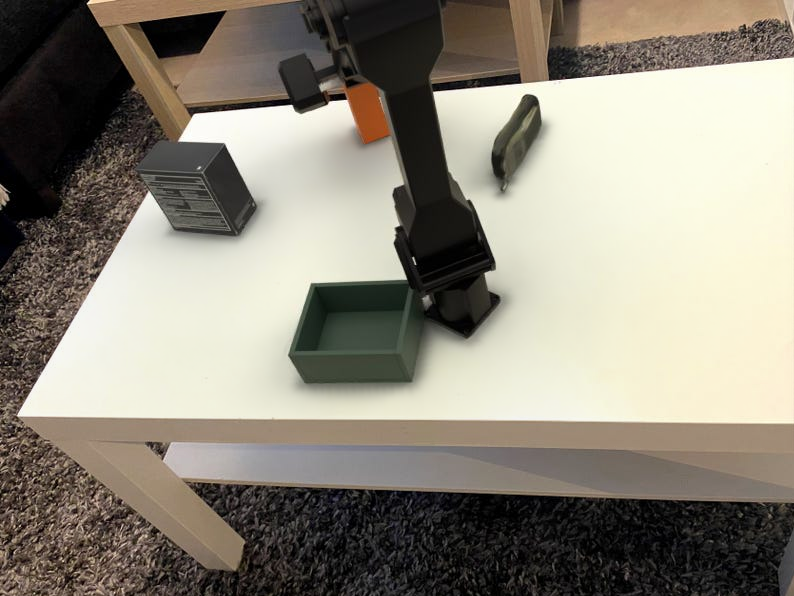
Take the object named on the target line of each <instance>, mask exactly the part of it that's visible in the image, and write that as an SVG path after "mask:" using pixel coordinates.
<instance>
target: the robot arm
mask: <svg viewBox="0 0 794 596" xmlns="http://www.w3.org/2000/svg"><path fill="white" fill-rule="evenodd" d="M297 7H298V11H299V15H300V17H301V19H302V22H303V25H304V26H305V29H306V32H307V33H308V34H309V35H310V34H316V35H317V36H318V37H319V39H320V41H322V42H323V44H324V47H325V49H326V52H327V54H330V55H331V54H332V55H331V60H332V65H330V66H326V67H324V68H321V69H318V70H316V69H315V67H314V65H313V62H312V61H311V59H310V58H308V56H307V54H306V52H303V53H300V54H297V55H294V56H292V57H289V58H286V59H283V60H280V61H279V62H278V64H277V68H276V69H277V72H278V74H279V77H280V80H281V82H282V84H283V87H284V89H285V91H286V93H287V96H288V99H289V101H290V104H291V106H292V108H293V110H294V112H295V113H297V114H299V115H303V114H306V113H308V112H312V111H316V110H318V109H320V108H325V107H327V106H328V105H329V103H330V100H331V97H330V95H329V92H328V91H329V90H331V89H335V88H337V87H340V86H342V85H343V84H345V86H346V88H347V90H349V89H352V88H355V87H358V86H360V85H363V84H366V83H371V84H372V85H374V86H375V87H376V88H377V91H378V95H379V98H380V101H381V104H382V108H383V111H384V114H385V118H386V121H387V125H388V128H389V132H390V135H389V136H390V138H391V142H392V146H393V149H394V153H395V156H396V160H397V163H398V167H399V172H400V175H401V178H402V181H403V184H402V185H399V186H396V187H394V188H393V190H392V194H391V196H392V200H393V202H394V206H393V207H394V210H395V214H396V219H397V221H398V224H399V225H398V226H395V227H393V228H394V232H395V234H394V240H393V243H392V244H393V247H394V249H395V252H396V254H397V258H398V260H399V262H400V265H401V267H402V269H403V273H404V276H405V278H406V280H407V281H408V284H409V286H410V289H413V290H417V292H418V294H420V295H421V297H422V299H425V298H428V299H429V302H431V304H430V305H428V307H427V308H426V310H425V312H424V315H425V316H424V318H425V319H427V320H429V321H431V322H434V323H435V324H438V325H440V327H444V328H445V329H448V330H450V331H451V332H454V333H455V334H458V335H459V336H461V337H464V338H469V337H470V336H472V335H473V333H474V332H475V331H476V330H477V329H478V328H479V326H480V325H481V324H482V323H483V322H484V321H485V320H486V318H487V317H489V315H490V314H491V313H492V312H493V311H494V309H495V308H496V307H497V306H498V305H499V304H500V303H501V300H502V299H501V296H500V295H499V294H497V293H495V292H493V291H490V290H489V288H488V287H489V286H488V282H487V279H486V273H489V272H494V271H496V270H497V267H496V266H497V262H496V259H495V257H494V254H493V251H492V249H491V246H490V243H489V241H488V238H487V236H486V233H485V230H484V228H483V225H482V223H481V220H480V216H479V214H478V212H477V209H476V207H475V205H474V204H473V201H472V200H471V199H470V198H469V199H467V198H466V196H465V194H464V192H463V190H462V188H461V187H460V185H459V183H458V181H456V180H455V179H454V177H453V175H452V173H451V171H449V166H448V161H447V157H446V151H445V146H444V141H443V136H442V129H441V126H440V125H441V124H440V121H439V115H438V110H437V105H436V99H435V94H434V89H433V84H432V78H431V75H432V73H433V71H434V68H435V67H436V65H437V63H438V61H439V59H440V57H441V55H442V53H443V51H444V49H445V46H446V37H445V27H444V16H443V12H444V11H447V10H448V1H447V0H303V1H301V2H300V3H298V5H297ZM427 296H428V297H427Z"/></svg>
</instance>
